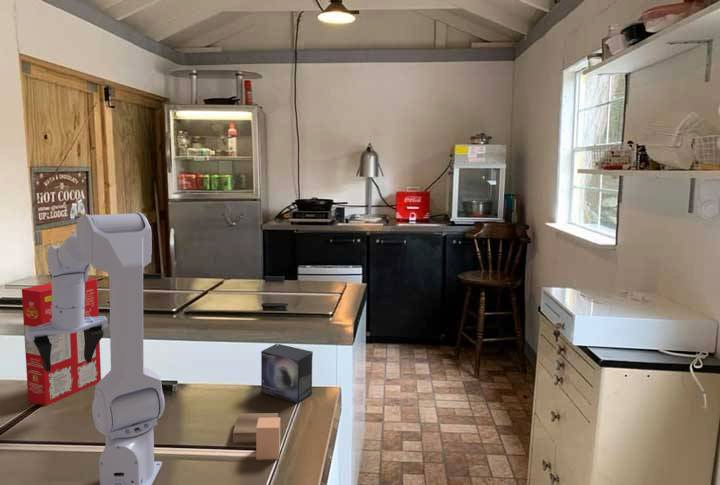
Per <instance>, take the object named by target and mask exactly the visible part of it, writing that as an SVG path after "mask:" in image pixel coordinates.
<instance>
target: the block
mask: <svg viewBox="0 0 720 485" xmlns="http://www.w3.org/2000/svg"><path fill="white" fill-rule="evenodd" d="M255 443H256V450H255V451H256V455H255V457H256V458H255V459H256V460H279V459H280V455H281V454H280V452H281V417H279V416H278V417H271V418H258V423H257V428H256V442H255Z"/></svg>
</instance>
